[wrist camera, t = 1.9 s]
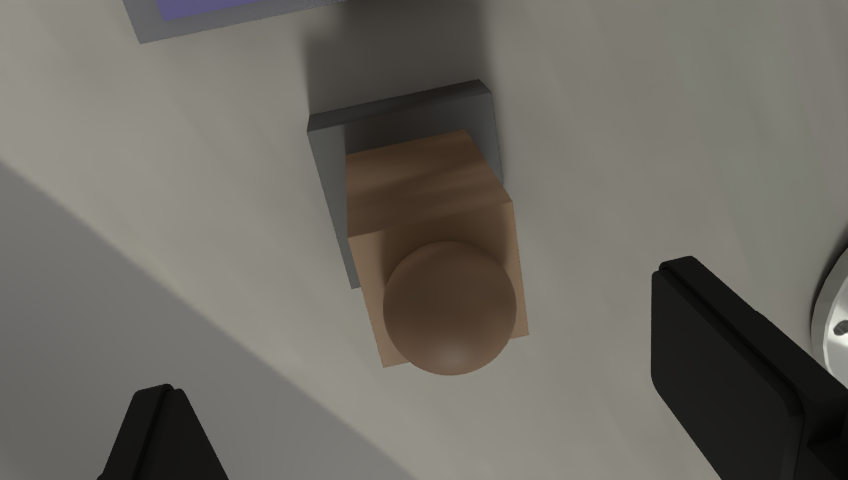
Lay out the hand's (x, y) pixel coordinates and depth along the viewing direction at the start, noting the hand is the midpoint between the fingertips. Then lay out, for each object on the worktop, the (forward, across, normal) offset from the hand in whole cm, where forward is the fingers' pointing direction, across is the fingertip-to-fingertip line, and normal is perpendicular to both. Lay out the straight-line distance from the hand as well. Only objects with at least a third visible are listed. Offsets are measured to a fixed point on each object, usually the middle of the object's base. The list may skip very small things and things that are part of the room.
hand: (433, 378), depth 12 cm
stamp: (+12, -1, 0) cm, 12 cm away
